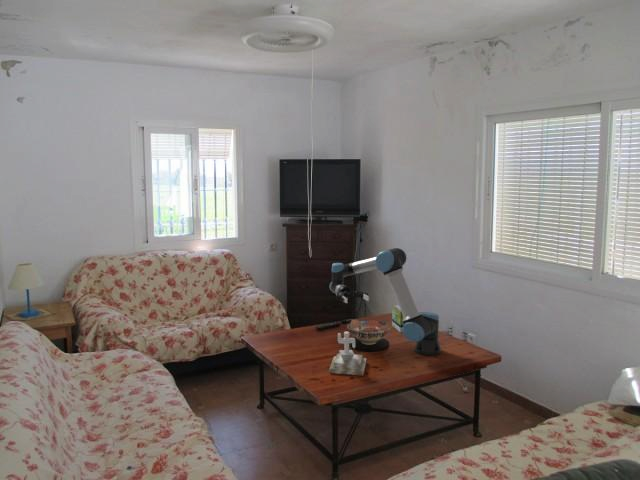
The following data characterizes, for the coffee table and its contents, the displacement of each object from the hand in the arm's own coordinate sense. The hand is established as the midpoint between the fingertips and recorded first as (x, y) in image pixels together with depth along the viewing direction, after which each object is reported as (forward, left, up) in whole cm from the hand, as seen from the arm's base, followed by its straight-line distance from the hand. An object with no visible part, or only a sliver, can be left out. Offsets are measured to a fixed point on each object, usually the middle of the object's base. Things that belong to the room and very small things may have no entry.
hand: (357, 299), depth 296 cm
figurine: (+4, +22, -27) cm, 36 cm away
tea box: (-25, -51, -32) cm, 65 cm away
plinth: (+3, +22, -32) cm, 39 cm away
